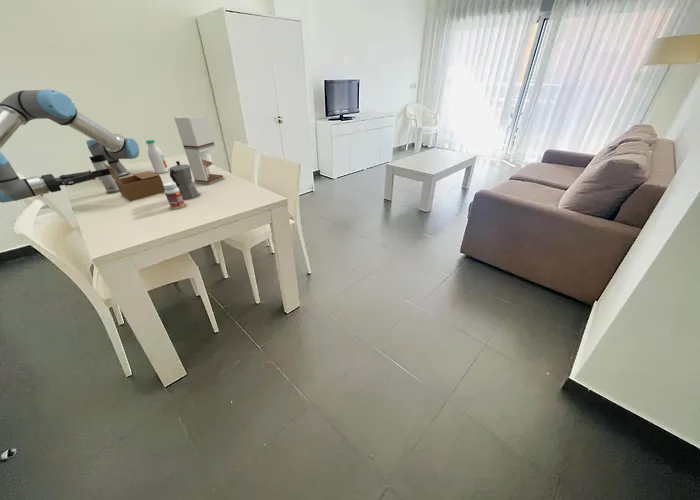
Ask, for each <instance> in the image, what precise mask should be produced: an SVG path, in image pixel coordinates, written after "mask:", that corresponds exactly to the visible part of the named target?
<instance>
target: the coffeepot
mask: <svg viewBox="0 0 700 500" xmlns="http://www.w3.org/2000/svg"><path fill="white" fill-rule="evenodd" d="M175 163H176V165H174V166H171V167H169V168H168V171H169V177H170V178H171V180H172V182H175V183H176V185H177V188H179V190H180V193H181V196H182V198H183V200H192V199H195V198H197V197H199V194H200V193H199V191H198V190H197V188H196V186H195V184H194V182H193V180H192V179H193V175H192V171H191V168H190V165H189V163H188V164H181V163H180V160H179V161H178V160H176V161H175Z"/></svg>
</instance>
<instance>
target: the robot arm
mask: <svg viewBox="0 0 700 500" xmlns="http://www.w3.org/2000/svg"><path fill="white" fill-rule="evenodd" d="M40 119H42V120H43V119H44V120H45V119H47V120H50V121H52V122H54V123H56V124H58V125H60V126H62V127H63V126H65V127H66V126H68V127H70V129H71V128H72V129H73V130H75V131H77V132H79V133H81V134H82V135H84V136H86V137H87V138H89V139H87V140H86V141H85V143H86V146H87V149H88V150H89V152H90V154H91V157H93V156H95V155H100V154H104V156H105V158H106V160H107V162H108V164H109V166H110V167H112V168H113V170H114V171H115V173H116V174H117V176H118V177H119V178H124V177H125V176H126V177H127V175H129V170H128V169H127V168H126V167H125V166H124V164H123V163H122V162H121V160H134V159H137V158H138V157H139V156H140V147H139V144H138V142H137V141H136V140H135V139H134V138H131V137H129V138H126V137H124V136H122V135H121V134H119V133H115V132H111V131H110V130H108V129H107V128H105V127H103V126H102V125H100V124H99V123H97V122H96V121H94V120H92V119H91V118H89V117H88V116H85V114H83V113H81V112H79V110H78V109H77V107H76V105H75V103H74V102H72V98H70V97H69V96H68V95H67V94H65V93H63V92H61V91H59V90H55V89H47V88H46V89H31V90H29V89H28V90H18V91H15V92H12V93H11V94H9V95H8V96H7V97H5V98H4V99H3V100H2V101H1V102H0V150H2V148H3V147H4V146H5V144H6V143H7V142H8V141H9V140H10V138H12V136H13V135H14V134H15V133H16V132H17V130H18V129H19V128H20V127H21V126H26V125H27V124H28V122H30V121H32V120H40ZM106 175H111V173H110V171H109V169H108V168H107V169H102V170H97V171H96V170H90V169H88V170H87V171H81V172H74V173H69V174H61V175H59V176H58V177H55V176H54V175H53V174H52V173H47V174H43V175H41V176H38V175H36V176H31V177H25V178H21V179H20V176H19V175H18V174H17V172H16V171H15V169H14V167H13V166H12V165H11V163H10V161H9V159H8V158H7V157H6V156H5V155H4V154H3V152H2V151H0V203H2V204H4V203H9V202H17V201H21V200H24V199H29V198H33V197H38V196H40V197H43V196H44V195H46V194H49V192H50V193H57V192H61V190H62V187H61V186H65V187H67V186H74V185H76V184H81V183H85V182H88V181H92V180H94V181H95V180H97V179H96V178H99V177H101V176H106Z"/></svg>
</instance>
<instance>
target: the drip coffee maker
mask: <svg viewBox="0 0 700 500" xmlns="http://www.w3.org/2000/svg"><path fill="white" fill-rule="evenodd" d="M173 119H174V122H175V125H176V128H177V131H178V134H179V137H180V140H181V143H182V146H183V149H184V152H185V155H186V159H187V161H188V165H190V170H191V175H192V178H193V180H194V183H195V184H201V185H209V186H210V185H212V184H215V183H217V182H220V181H221V180H224V176H223V174H215V173H211V171H210V168H209V167H211V166H212V165H213V160H212V157H211V152H210V150H214V149H216V145H215V142H214V139H213V134H212V131H211V127H210V123H209V119H208V116H207V114H204V115H198V116H197V115H196V116H194V114H188V115H181V116H174V117H173Z"/></svg>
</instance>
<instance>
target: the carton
mask: <svg viewBox="0 0 700 500" xmlns="http://www.w3.org/2000/svg"><path fill="white" fill-rule="evenodd" d="M119 179H120V180H121V182H122V183H123V184H121V183H119V182H118V181H116V180H115V182H116V184H117V186H118V188H119V190H120V191H119V193H120V195H121V196H122V197H123V198H125V199H127V200H128V201H129V202H133V201H138V200H141V199H144V198H148V197H152V196H156V195H159V194H164V193H165V192H164V191H165V190H166V189H164V186H163V184H164V183H163V180H162V178H161V176H160V174H158V173H155V171H153V170H146V171H141V172H136V173H132V175H129V176H126V177H125V176H124V177H120V178H119Z"/></svg>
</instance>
